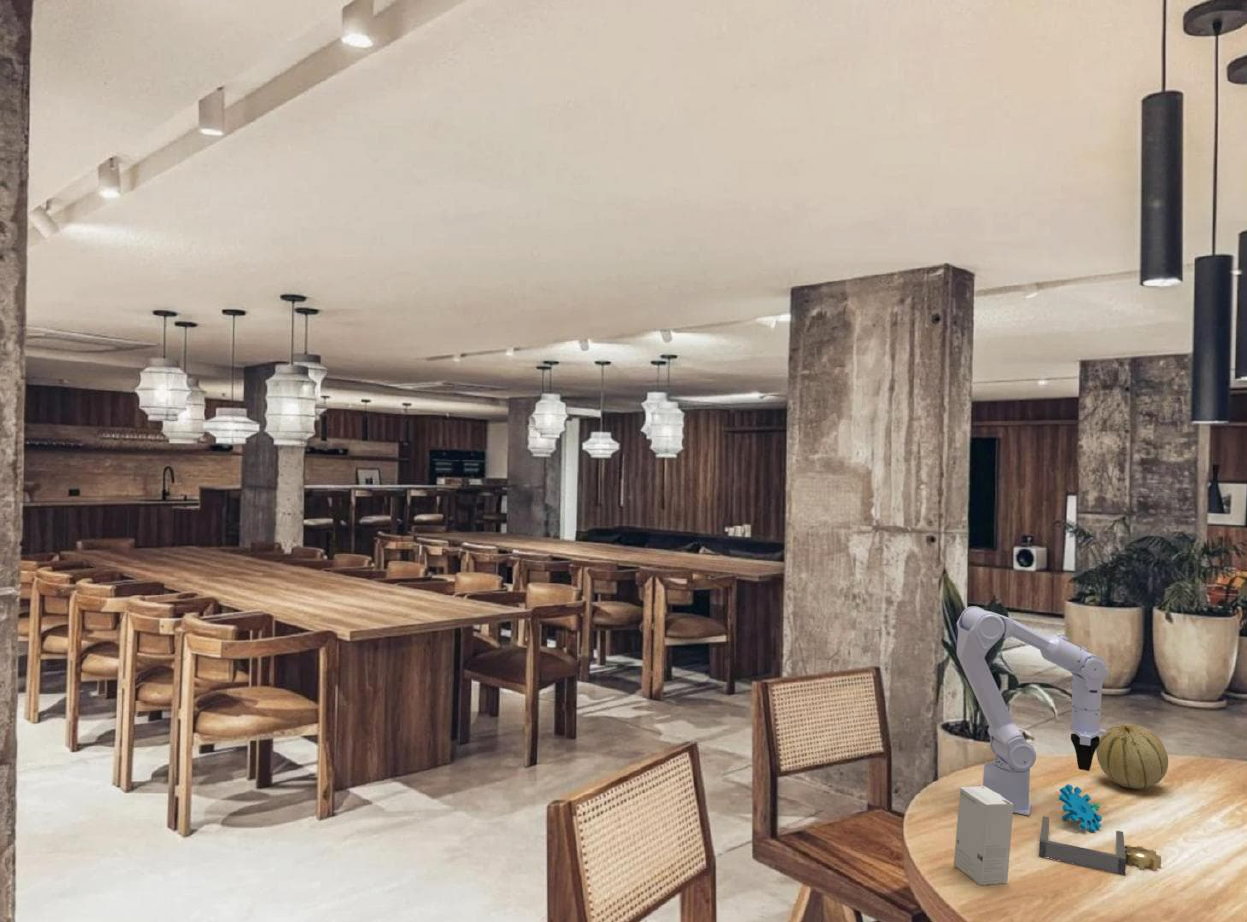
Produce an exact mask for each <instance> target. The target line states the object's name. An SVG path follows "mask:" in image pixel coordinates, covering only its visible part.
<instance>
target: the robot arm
mask: <svg viewBox="0 0 1247 922" xmlns="http://www.w3.org/2000/svg"><path fill="white" fill-rule="evenodd" d="M956 627H957V642H956V643H957V644H956V656H957V659H958V660H959V663H960V665H961V667H962V669H963V672H964V674H965V677H966V678H967V681H968V683H969V685H970V687H971V689H972V691H973V693H974V696H975V698H976V700H977V702H978V704H979V706H980V709H981V711H982V714H983V716H984V717H985V720H986V723H987V724H988V728H987V732H988V735H989V739H990V742H989V743H990V745H989V746H990V749H991V751H992V753H993V754H994V760H993V762H992V761H984V766H983V776H982V786H985V787H987V788H989V789H990V790H992V791H994V792H996V793H998V794H1000V795H1001V796H1002V797H1003V798H1005V799H1006V800H1008V801H1009V802H1011V803H1013V804H1014V805H1013V814H1018V815H1019V814H1020V815H1023V816H1024V815H1025V816H1030V815H1031V809H1032V802H1031V801H1030V782H1031V781H1030V780H1031V779H1030V778H1031V777H1030V776H1031V769H1032V767H1033V766H1034V764H1036V763H1035V762H1036V760H1037V753H1036V750H1035V748H1034V746H1033V745H1032V744H1030V743H1029V742H1028V741H1027V740H1026V739H1025V736H1024V734H1023V733H1022V731H1021V730H1020V729H1019V728H1018V726H1017V725H1016V724H1015V722H1014V720H1013V718H1012V716H1011V714H1010V711H1009V709H1008V707H1007V704H1006V702H1005V700H1004V698H1003V696H1002V693H1001V692H1000V690H999V687H998V685H997V682H996V680H995V679H994V676H993V674H992V672H991V670H990V668H989V666H988V663H987V660H986V658H985V657H986V655H987V653H988V652H989V650H991V648H993V647H994V645H995V644H996V643H997V642H998V641H999V640H1001V639H1004V640H1006V639H1009V638H1014V639H1017V640H1018V641H1021V642H1023V643H1025V644H1027V645H1029V646H1031V647H1033V648H1035V649H1038V650H1039V651H1040V654H1041V657H1042V658H1043V659H1044V660H1046V661H1048V662H1050V663H1052V664H1054V665H1056V666H1058V667H1060V668H1062V669H1064V670H1066V671H1067V672H1070V674H1072V686H1071V688H1072V689H1071V715H1070V718H1071V719H1070V725H1069V730H1070V731H1071V732H1073V733H1071V734H1070V740H1071V743H1072V745H1073V747H1074V750H1075V756H1076V763H1077V767H1078V770H1081V771H1086V772H1090V770H1091V767H1092V763H1093V760H1094V759H1093V758H1094V755H1095V753H1096V748H1097V747H1098V745H1099V744H1100V737H1101V735H1102V734H1104V735H1106V731H1107V730H1106V729H1104V728H1101V719H1102V718H1101V716H1102V715H1101V714H1102V688H1103V682H1104V680H1105V679H1106V678H1107V677H1108V675H1109V668H1107V665H1106V662H1105V661H1104V659H1103V658H1102V657H1100V656H1097V655H1096V654H1093V653H1091V652H1088V649H1087V648H1086V647H1084V646H1081V645H1080V646H1077V645H1075V644H1073V643H1071V642H1070V641H1068V640H1069V638H1068V637H1065V636H1063V635H1061V634H1060V635H1059V636H1057V635H1051V636H1047V637H1046V636H1045V635H1043V634H1041V633H1039V632H1037V631H1035V630H1034V629H1031V628H1030V627H1028V626H1026V625H1025V624H1023V623H1021V622H1018V621H1017V620H1014V619H1013V618H1010V617H1007V616H1005V615H1002V614H999V613H997V612H993V611H989V610H986V609H983V608H981V607H979V606H976V605H975V606H969V607H967V608H965V609H964V610H963V611H962V612H961V614H960V616H959V618H958V619H957V622H956ZM1099 735H1100V736H1099Z"/></svg>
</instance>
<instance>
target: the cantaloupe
mask: <svg viewBox="0 0 1247 922" xmlns="http://www.w3.org/2000/svg"><path fill="white" fill-rule="evenodd" d="M1099 737H1100V744H1099V745H1098V747H1097V748H1096V750H1095V753H1096V758H1097V762H1098V765H1099V767H1100V769H1101V770H1102V771H1103V773H1104V774H1105V776H1106V777H1107V778H1108V779H1109V780H1111V781H1112V782H1113V783H1115V784H1117V785H1119V786H1121V787H1124V788H1128V789H1133V790H1141V789H1148V788H1151V787H1153V786H1155V785H1156V784H1159V783H1160V782H1161V781H1162V780H1163V779H1164V778H1165V776H1166V775H1167V771H1168V768H1169V756H1168V752H1167V750H1166V748H1165V745H1164V744H1163V742H1162V740H1161V739H1160V738H1159V736H1157V734H1156V733H1154V732H1153V731H1151V730H1150V729H1148V728H1147V727H1144V726H1140V725H1138V724H1133V723H1122V724H1118V725H1117V724H1116V725H1114V726H1111V727H1110V728H1108V729H1107V730H1106V735H1104V734H1101V735H1100V736H1099Z"/></svg>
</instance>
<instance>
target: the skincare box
mask: <svg viewBox="0 0 1247 922" xmlns="http://www.w3.org/2000/svg"><path fill="white" fill-rule="evenodd" d="M958 800H959V801H958V809H957V820H956V821H957V823H956V834H955V845H954V846H955V847H954V855H953V856H954V857H953V859H954V860H953V864H954V865H953V866H955V867H956V868H957V869H958V870H960V871H962V872H963V873H964V874H966V876H968V877H970V878H972V880H973V881H974V882H976V883H977V884H979V886H987V884H990V885H999V884H998V883H1004V884H1007V883H1008V877H1009V868H1010V867H1009V863H1010V852H1011V841H1012V839H1011V838H1012V829H1013V818H1014V816H1013V815H1014V813H1013V805H1014V804H1013V803H1011V802H1009V801H1008V800H1006V799H1005V798H1003V797H1002V796H1001V795H1000V794H998V793H996V792H994V791H992V790H990V789H989V788H987V787H985V786H983V785H981V786H960V787H959V799H958ZM1006 882H1007V883H1006ZM996 883H997V884H996Z"/></svg>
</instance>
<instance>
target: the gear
mask: <svg viewBox="0 0 1247 922" xmlns="http://www.w3.org/2000/svg"><path fill="white" fill-rule="evenodd" d="M1059 792H1060V795H1058V800H1059V801H1060V802H1063V803H1064V804H1063V805H1062V810H1063V812H1066V813H1065V814H1064V815H1062V816H1061V818H1062V819H1061V820H1063V821H1068V820H1069V819H1070V822H1072V823H1076V822H1077V821H1078V820H1079V821H1081V822H1080V823H1079V824H1078V827H1079V828H1080V829H1081V830H1082V831H1085V830H1088V831H1089V832H1091V833H1095V832H1097V830H1099V829H1100V828H1102V827H1103V826H1102V824H1101V822H1102V820H1103V817H1102V816H1101V815H1100V814H1098V813H1096V812H1097V811H1099V809H1100V808H1101V805H1100V803H1099V802H1095V803H1094V804H1093V803H1092V804H1091V803H1090V801H1091V800H1092V798H1091V796H1090V795H1089V794H1087V793H1086V794H1084V795H1083V796H1081V795H1080V794H1081V793H1082V792H1083V790H1082V789H1081V788H1080V787H1078V786H1076V787H1073V785H1071V784H1066V785H1064V786H1062V787H1061V788H1060V789H1059Z"/></svg>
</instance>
